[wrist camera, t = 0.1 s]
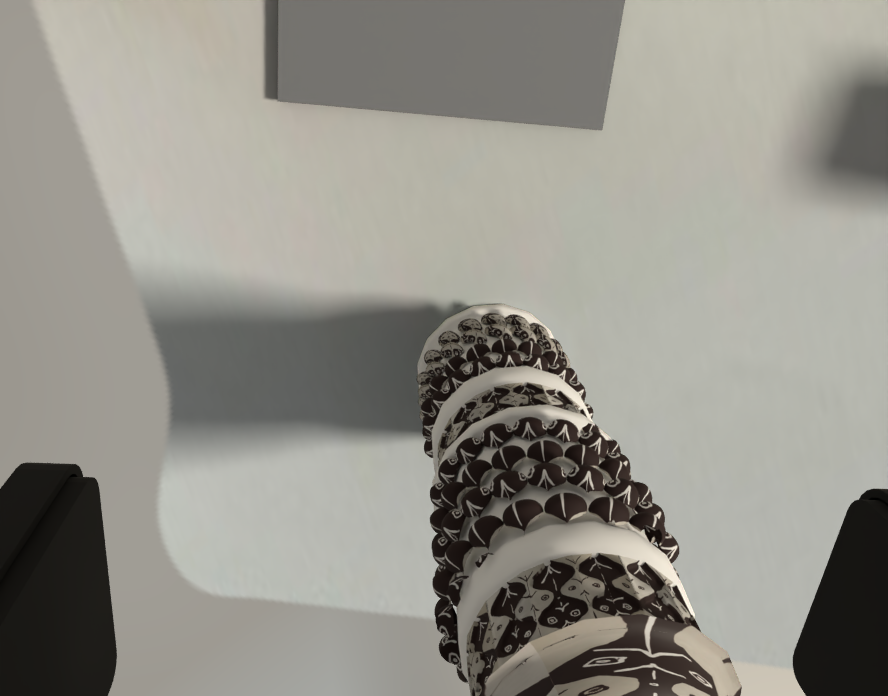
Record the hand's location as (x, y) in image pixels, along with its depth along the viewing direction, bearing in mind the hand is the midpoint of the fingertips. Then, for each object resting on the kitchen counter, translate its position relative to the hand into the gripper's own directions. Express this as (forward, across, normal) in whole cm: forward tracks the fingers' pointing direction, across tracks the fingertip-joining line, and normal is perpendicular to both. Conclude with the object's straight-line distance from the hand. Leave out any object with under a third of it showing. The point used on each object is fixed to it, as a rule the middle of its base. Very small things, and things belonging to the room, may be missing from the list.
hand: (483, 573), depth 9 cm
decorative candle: (+31, -6, +12) cm, 34 cm away
